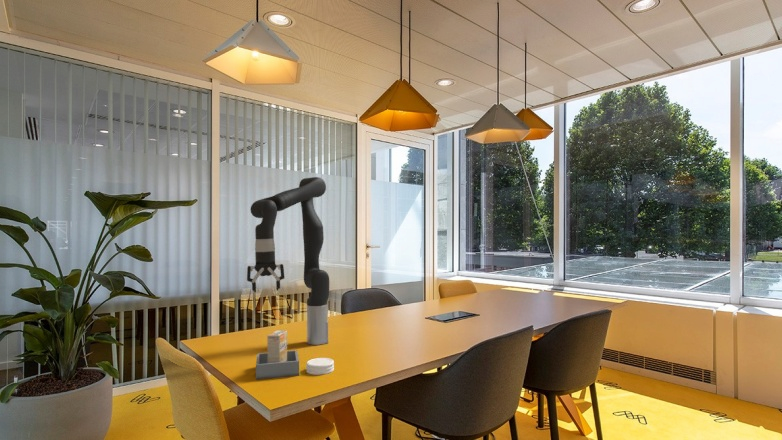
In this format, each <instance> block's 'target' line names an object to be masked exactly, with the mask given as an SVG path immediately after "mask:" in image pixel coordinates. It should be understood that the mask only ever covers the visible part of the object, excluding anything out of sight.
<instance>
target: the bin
mask: <svg viewBox="0 0 782 440" xmlns="http://www.w3.org/2000/svg"><path fill="white" fill-rule="evenodd" d="M255 362H256V363H255V380H256V381H257V380H258V381H259V380H267V379H277V378H288V377H297V376H300V358H299V354H298V350H295V349H294V350H287V362H277V363H268V352H261V353H260V352H259V353H257V354H256V361H255Z"/></svg>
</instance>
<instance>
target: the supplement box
mask: <svg viewBox="0 0 782 440" xmlns="http://www.w3.org/2000/svg"><path fill="white" fill-rule="evenodd" d="M266 337H267V340H266V341H267V344H266V345H267V353H268V363H277V362H287V351H288V331H287V330H274V331H272V332H271V333H269V334H268V335H267V336H266Z"/></svg>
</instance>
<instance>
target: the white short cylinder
mask: <svg viewBox="0 0 782 440" xmlns="http://www.w3.org/2000/svg"><path fill="white" fill-rule="evenodd" d="M334 364H335V361H334V359H332V358H329V357H316V358H312V359H309V360H308V361H307V362H306V367H305V368H306V369H305V371H306V373H307V374H308V375H312V376H313V375H314V376H323V375H327V374H330V373H332V372H334V370H335V365H334Z"/></svg>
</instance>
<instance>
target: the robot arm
mask: <svg viewBox="0 0 782 440" xmlns="http://www.w3.org/2000/svg"><path fill="white" fill-rule="evenodd" d="M298 185H299V186H298V187H294V188H291V189H287V190H284V191H281V192H279V193H276V194H274V195H272V196H269V197H265V198H260V199H257V200H255V201H254V202H253V203H252V204H251V206H250V213H251V215H252V216H253V217H255V218H256V219H261V222H260V224H259V223H258V224H256V226H255V230H254V234H255V242H254V257H255V259H254V260H255V264H254V265H248V266H247V269H246V270H247V271H246V272H247V273H246V275H247V276H246V281H247V282H249V283H251V289H252V292H253V293H256V292H257V284H256V283H257V282H256V281H257V280H258V279H259V277H260V276H261V277H266V276H267V277H269V276H273V278H274V279H275V282H276V283H275V284H276V286H275V287H276V291H279V289H281V280H284V279H285V268H284V264H283V263H280V264H276V248H275V247H276V246H275V245H276V244H275V235H274V233H275V231H274V228H275V225H276V219H277V215H278V212H281V211H284V210H286V209H288V208H290V207H292V206H295V205H296V204H297V205H298V204H299V203H300V207H301V217H302V237H303V238H302V239H303V256H304V257H303V258H304V260H303V261H304V262H303V264H304V265H303V282H304V285H305V287H306V288H308V289H310V296H309V297H308V298H307V299H306V341H307V342H306V343H307V344H308V345H310V346H311V345H313V346H316V345H317V346H319V345H325V344H329V321H328V300H329V297H330V275H329V273H328V272H327V271H325V269H320V255H321V251H322V248H323V246H324V245H323V244H324V237H325V236H324V225H323V223H322V222H323V221H322V220H321V219H320V217H319V215H318V214H317V212H316V210H315V206H314V199H315V198H320V197H322V196H323V195H325V193H326V191H327V185H326V182H325V180H324V179H323V178H322V177H318V176H315V177H305V178H302V179H301V180H300V182H299V184H298ZM276 269H278V270H280V275H278V274H277V273H276V272H275V271H276ZM254 270H255V272H256V273H255V275H254V277H253V278H251V274H252V272H253V271H254Z"/></svg>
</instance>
